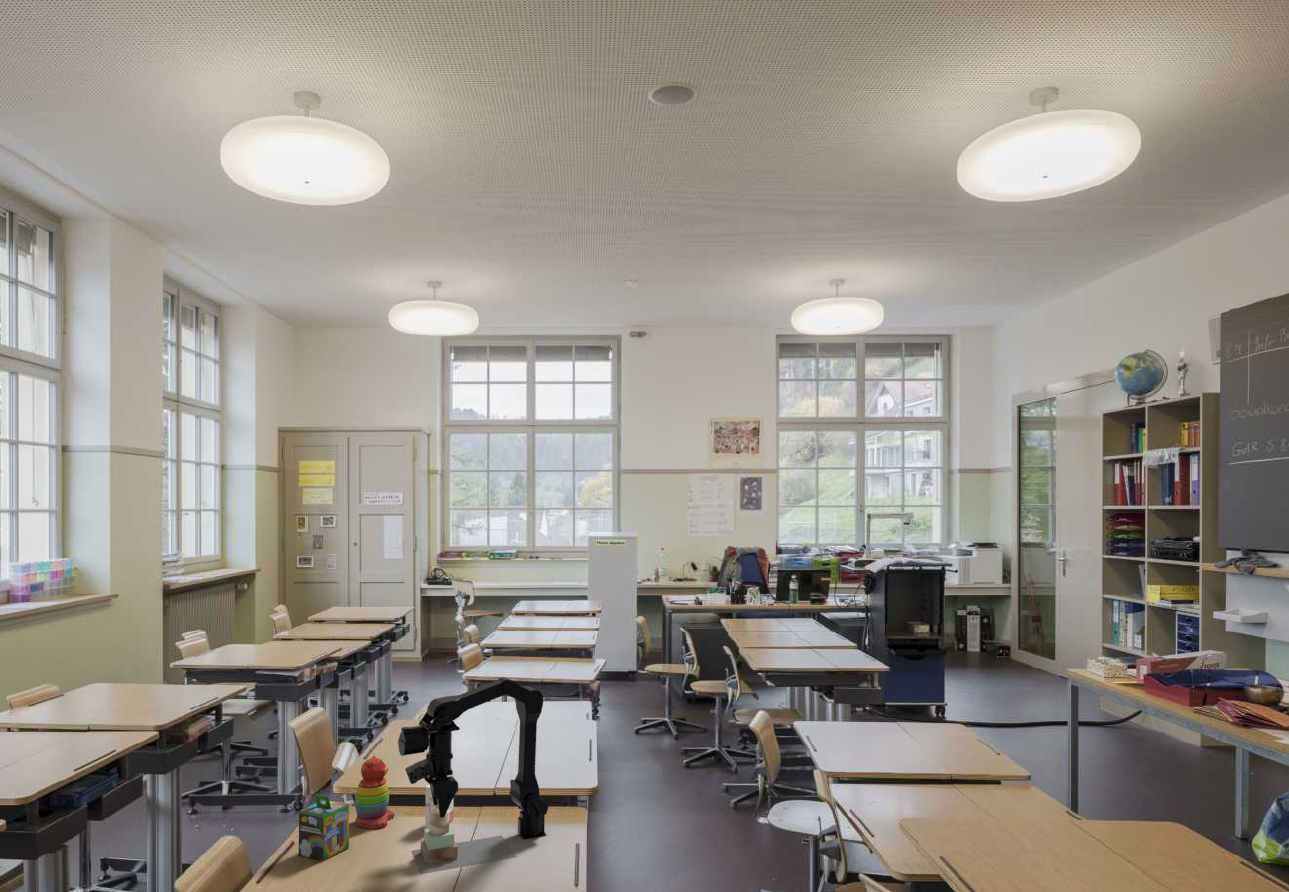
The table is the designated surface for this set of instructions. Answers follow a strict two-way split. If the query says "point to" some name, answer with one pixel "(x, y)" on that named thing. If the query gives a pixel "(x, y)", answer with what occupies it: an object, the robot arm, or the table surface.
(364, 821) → the stacking bear
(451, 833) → the sage top block
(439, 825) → the maple cylinder
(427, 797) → the ink cartridge box
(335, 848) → the chalk box
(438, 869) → the rubber mat
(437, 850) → the walnut base block
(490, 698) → the robot arm
